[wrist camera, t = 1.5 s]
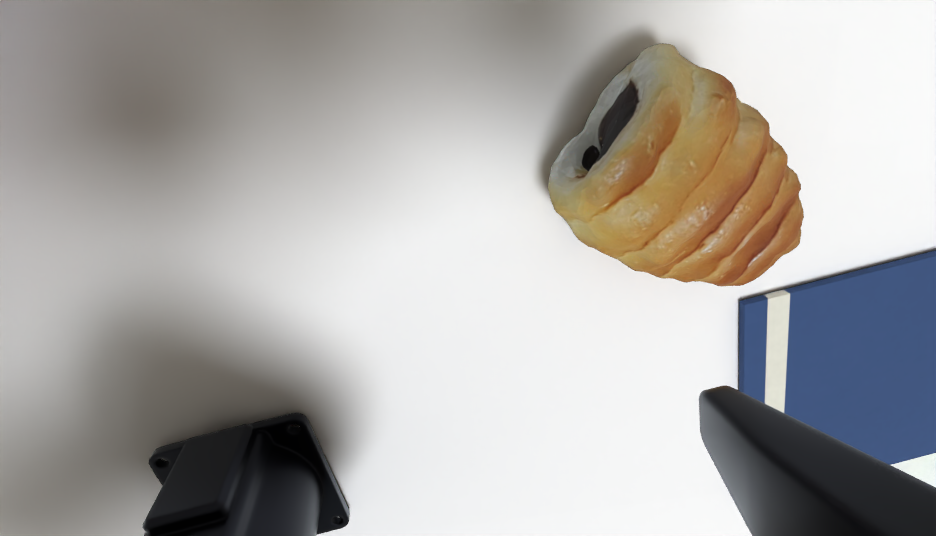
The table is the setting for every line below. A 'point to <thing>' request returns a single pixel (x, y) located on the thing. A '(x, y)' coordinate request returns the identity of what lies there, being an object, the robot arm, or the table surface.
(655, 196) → the pastry
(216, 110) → the table surface
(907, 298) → the napkin
